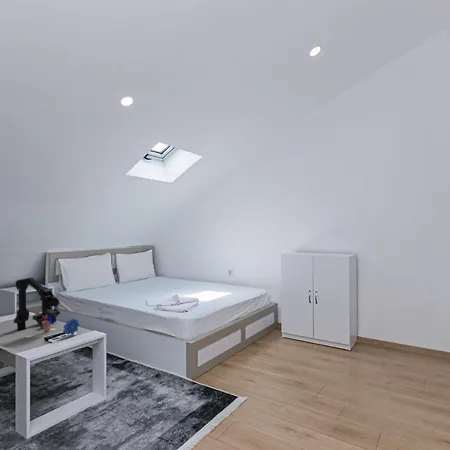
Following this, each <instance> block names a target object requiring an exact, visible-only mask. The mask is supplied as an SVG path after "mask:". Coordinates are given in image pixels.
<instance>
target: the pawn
mask: <svg viewBox="0 0 450 450" xmlns="http://www.w3.org/2000/svg"><path fill="white" fill-rule="evenodd" d="M50 327H51V324H49V321H45V322H44V329H43V331H44V332H45V333H48V331H49V332H50V329H51V328H50Z"/></svg>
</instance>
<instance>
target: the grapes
mask: <svg viewBox="0 0 450 450" xmlns="http://www.w3.org/2000/svg"><path fill="white" fill-rule="evenodd" d="M80 325H81V324H80V322H79V319H77V318H76V319H75V318H74V317H72V318H71V319H68V320H67V321H66V323H65V324H63V331H62V332H63V333H64V334H65V335H66V334H70V333H71V334H73V335H74V334H75V333H76V332H77V331H79V327H80ZM71 334H70V335H71Z"/></svg>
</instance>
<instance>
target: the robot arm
mask: <svg viewBox="0 0 450 450" xmlns="http://www.w3.org/2000/svg"><path fill="white" fill-rule="evenodd" d="M29 287H31V288H33V289H34V290H35V291H36V292H37V294H38V296H40V298H39V300H40V301H41V307H40V309H41V312H42V313H41V314H42V315H37V314H35V315H34V314H33V316H32V320H34V321H35V322H36V323H37V325H38V324H39V325H38V326H39V327H40V329H41V328H42V320H43V319H42V317H45V316H49V317H51V322H52V324H51V325H52V326H53V325H55V324H54V321H55V318H56V319H57V317H58V316H59V315H60V314H61V312H60V310H58V308H57V306H59V304H60V300H59V299H58V297H57V296H55V295H54V294H53V292H52V289H50V288H48V287H47V286H43V285H42V284H41V283H40V282H38V281H37V280H36V279H34V277H31V276H30V277H27V278H21V279H17V280H16V281H15V289H16V290H17V291H18V310H17V312H16V316H15V318H14V319H13V323H14V324H16V328H15V331H19V332H20V331H21V332H22V331H25V330H27V329H28V327H27V325H26V322H27V321H29V318H30V310H28V309H27V289H28V288H29ZM53 307H56V308H53ZM52 308H53V309H52ZM44 315H45V316H44Z"/></svg>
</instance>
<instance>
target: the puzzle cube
mask: <svg viewBox="0 0 450 450" xmlns="http://www.w3.org/2000/svg"><path fill="white" fill-rule="evenodd" d="M41 313H42V311H40V312H38V313H37V314H36V315H42V314H41ZM44 316H45V315H44ZM42 319H43V320H42V322H44V321H50V325H52V322H51V317H49V316H45V317H42ZM56 322H57V317H56V318H55V321H54V323H56ZM37 325H38V326H39V324H38V323H37Z"/></svg>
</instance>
